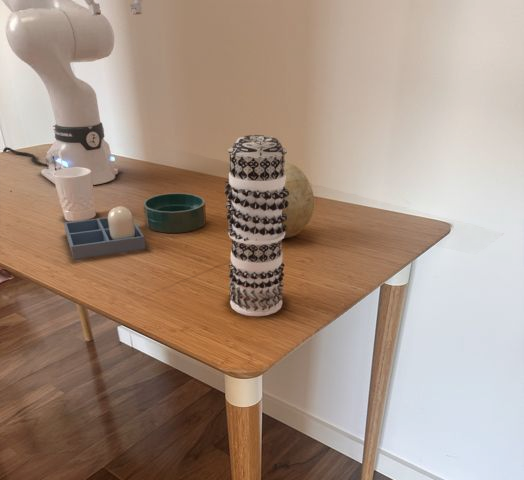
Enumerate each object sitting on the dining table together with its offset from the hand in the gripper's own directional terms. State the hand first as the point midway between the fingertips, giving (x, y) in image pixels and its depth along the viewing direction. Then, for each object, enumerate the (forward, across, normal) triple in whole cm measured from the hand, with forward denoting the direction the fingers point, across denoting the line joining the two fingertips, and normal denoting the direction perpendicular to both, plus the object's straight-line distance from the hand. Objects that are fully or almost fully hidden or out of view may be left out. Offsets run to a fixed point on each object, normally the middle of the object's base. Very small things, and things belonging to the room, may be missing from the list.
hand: (117, 14), depth 101 cm
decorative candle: (+44, +15, +52) cm, 70 cm away
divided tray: (+40, +20, +14) cm, 47 cm away
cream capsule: (+40, +18, +18) cm, 47 cm away
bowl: (+40, +3, +14) cm, 43 cm away
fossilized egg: (+43, -9, +34) cm, 55 cm away
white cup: (+38, +17, -4) cm, 42 cm away
